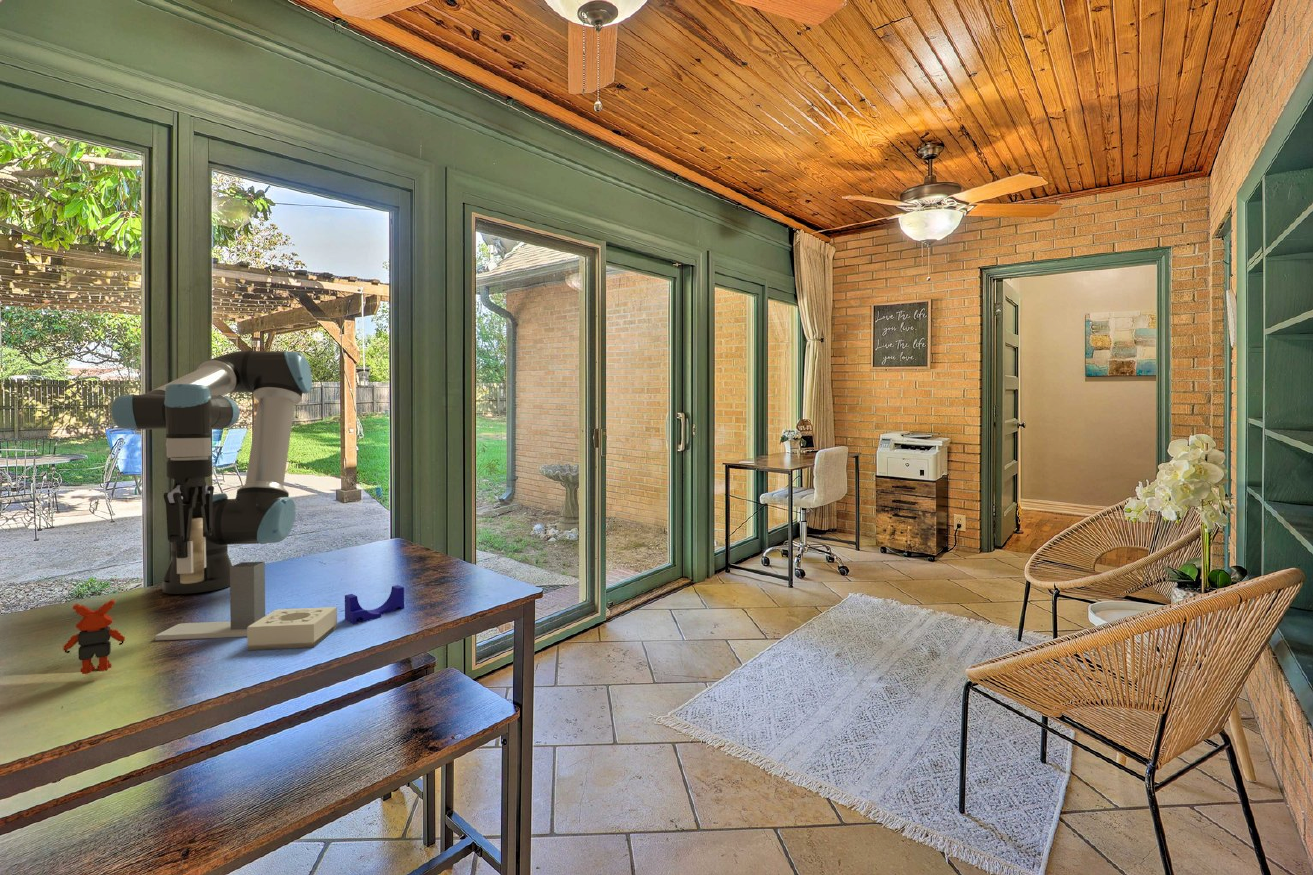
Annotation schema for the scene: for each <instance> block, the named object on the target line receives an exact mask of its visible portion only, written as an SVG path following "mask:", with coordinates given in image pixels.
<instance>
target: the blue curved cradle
mask: <svg viewBox="0 0 1313 875" xmlns="http://www.w3.org/2000/svg"><path fill="white" fill-rule="evenodd" d="M399 607H400V608H399ZM398 608H399V609H401V610H404V609H405V587H404V586H402V585H398V584H395V585H392V586H391V591H390V594H389V596H388V598H387V599H386V601H385V602H384V603H383V604H381V605H380V606H379V607H377V608H374V609H364V608H362V606H361V605H360V603H359V600H358V596H357V595H355V594H354V593H351V594H350V593H349V594H346V595H345V594H344V620H345V621H347V622H349V623H351V624H352V625H356V624H358V622H357V620H359V619H360V620H361V621H360V620H359V621H360V622H362V623H363V622H368V621H371V620H370V619H372V620H377V619H380V618H381V617H382V615H385V614H388V613H393V612H396V609H398ZM403 608H404V609H403ZM384 613H385V614H384ZM367 620H368V621H367Z"/></svg>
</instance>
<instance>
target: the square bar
mask: <svg viewBox="0 0 1313 875" xmlns="http://www.w3.org/2000/svg"><path fill="white" fill-rule="evenodd" d="M265 563H266V561H246V562H245V561H244V562H243V561H241V562H239V563H237V564H233V565H232V566H231V567H230V586H229V596H230V597H229V599H230V600H229V602H230V621H231V630H237V629H247V627H248V626H250V625H251V624H253V623H255V622H256V621H258V620H260V619H261V618H263V617H265V616H266V571H265V570H266V566H265Z"/></svg>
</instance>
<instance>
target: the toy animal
mask: <svg viewBox="0 0 1313 875" xmlns="http://www.w3.org/2000/svg"><path fill="white" fill-rule="evenodd" d="M115 604H116V600H115V599H111V600H109V601H107V602H105V603H104V604H102V605H101V606H100V607H99V608H98V609H96V610H92V609H90V608H89V607H87V606H85V605H84V604H83V605H82V604H81V605H80V604H79V603H75V604H74V605H73V606H72V610H74V612H75V614H77V615H79V616H81V617H82V618H81V620H79V621H78V622H77V623H76V624H75V628H76V629H77V630H78V631H79V633H77V634H74V635H71V636H70V639H68V641H67V642H66V644H63V646H62V647H63V648H62V649H63V651H64V653H66V654H70V652H71V651H70V649H72V648H73V647H74V645H76V644H77V645H78V646H79V648H78V651H77V652H78V656H77V657H78V660H79V661H81V668H80V673H81V674H82V675H88V674H91V673H92V672H93V671H96V669H97V670H98V672H105V671H107V670H108V669H110V668H111V667H112V663H111V662H110V660H109V659H108V658H109V657H108V656H110V654H111V653H112V652H111V650H112V648H111V647H112V646H111V643H112V642H111V641H110V639H111V638H112V639H113V640H116V641H117V642H119V644H118V645H119V646H122V645H123V644H124V642H125V641H126V637H125V636H124V635H122V633H121V632H119V631H118V629H113V628H111V627H110V625H111V624H112V623H113V622H114V618H113V617H112V616H110V615H108V613H109V611H110V610H111V609H112V608H113V606H114V605H115ZM94 656H95V658H96V659H98V665H97V667H96V666H95V665H93V662H92V659H93V658H94Z"/></svg>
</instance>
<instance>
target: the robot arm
mask: <svg viewBox="0 0 1313 875" xmlns="http://www.w3.org/2000/svg"><path fill="white" fill-rule="evenodd" d="M312 386H313V378H312V371H311V367H310V363H309V362H308V359H307V358H306V356H305V355H304V354H303V353H301V352H299V351H289V350H284V351H283V350H281V351H278V350H277V351H273V350H271V351H270V350H268V351H266V350H265V351H264V350H238V351H232V352H228V353H226V354H225V353H224V354H222V355H218V356H216V357H213V358H210V359H208V360H206V361H204V362H202V363H200V364H199V365H198V367H197V368H196V370H194V371H192V372H190V373H187V374H185V375H183V376H181V377H178V378H177V379H174V380H172V381H170V382H168V383H166V384H163V385H161V386H159V387H156V388H155V389H152V390H150V391H147V392H146V393H143V394H135V393H131V394H124V395H123V394H122V395H118V396H117V397H116V398H115V399H114V400H113V402H112V404H111V409H110V413H111V418H112V420H113V422H114V424H115V425H116V426H117V427H118V428H120V429H124V430H136V431H140V430H143V431H144V430H165V432H166V433H165V439H166V441H165V442H166V443H165V447H166V457H167V458H170V460H169V459H167V461H166V477H167V478H168V479H172V480H173V486H172V490H171V491H170V492H164V493H163V500H164V503H165V511H166V512H165V513H166V530H167V531H166V532H167V540H168V541H169V543H170V562H169V564H168V567H167V569H166V572H165V575H164V577H163V581H162V584H161V585H162V586H161V587H162V593H163V594H164V593H165V594H170V595H182V594H185V595H186V594H197V593H207V592H212V591H217V590H222V589H225V588H230V567H231V566H233V564H232V562H231V559H230V557H229V553H228V552H229V550H228V548H229V547H228V546H229V545H230V546H231V545H233V546H234V545H254V544H255V545H257V544H260V545H267V544H274V543H276V544H277V543H280V542H283V541H284V540H285V539H286V538H287V537H288V536H289V534H290V533H291V531H292V529H293V526H294V523H295V519H296V503H295V501H294V499H292V497H290V496H289V494H290V493H289V491H288V490H287V489H286V488H285V487H284V484H285V477H286V476H285V475H286V468H287V463H288V456H289V455H288V454H289V448H290V441H291V440H290V439H291V434H292V433H291V432H292V426H293V418H294V412H295V406H297V405H298V404H300V403H301V402H302V397H303V394H305V395H307V394H309V393H310V392H311V390H312ZM230 393H251V394H252V395H253V397H254V398H255V400H257V407H256V414H255V420H254V426H253V427H254V428H253V434H252V438H251V439H252V440H251V446H250V450H249V458H248V464H247V471H246V476H245V483H244V484H243V485H242V486H241V487H238V489H236V496H235V498H229V496H228V494H227V493H226V492H223V493H215V492H214V491H215V487H214V486H213V485H207V482H206V478H208V477H211V476H212V474H213V470H212V469H213V468H212V467H213V466H212V464H213V463H212V462H213V461H212V460H211V459H210V458H209V457H211V456H212V454H213V453H212V433H211V431H212V430H220V431H221V430H224V429H228V428H231V427H232V426H234V425H235V424H236V423H237V422H238V421H239V418H240V407H239V405H238V403H237V402H236V401H234V400H233V399H232V398H230V397H228V396H226V395H228V394H230ZM192 518H203V557H204V580H203V581H201V582H197V583H189V584H182V583H180V574H187V573H193V572H194V570H193V541H190V533H191V522H192Z"/></svg>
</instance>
